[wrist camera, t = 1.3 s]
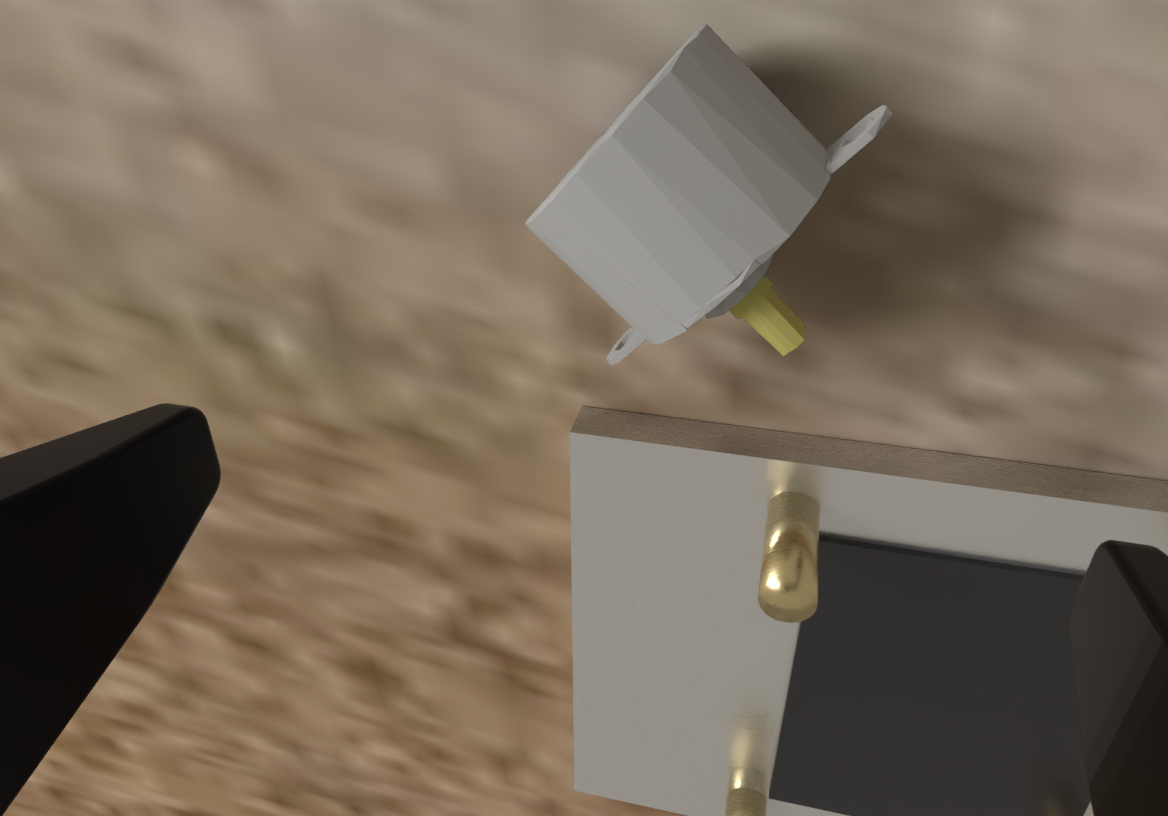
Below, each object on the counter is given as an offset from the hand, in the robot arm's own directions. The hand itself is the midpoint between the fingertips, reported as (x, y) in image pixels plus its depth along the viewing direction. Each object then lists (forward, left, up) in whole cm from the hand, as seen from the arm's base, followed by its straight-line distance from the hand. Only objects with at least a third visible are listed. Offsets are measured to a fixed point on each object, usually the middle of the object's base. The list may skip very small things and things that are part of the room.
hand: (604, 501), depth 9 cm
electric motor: (0, 0, -11) cm, 11 cm away
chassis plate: (-7, +13, -11) cm, 19 cm away
